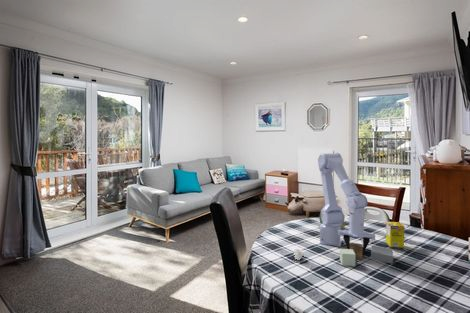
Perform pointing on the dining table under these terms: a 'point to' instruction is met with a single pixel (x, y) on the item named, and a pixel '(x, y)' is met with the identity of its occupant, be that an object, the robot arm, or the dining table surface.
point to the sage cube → (347, 257)
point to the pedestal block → (382, 254)
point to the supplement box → (395, 235)
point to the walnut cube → (357, 250)
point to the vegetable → (331, 211)
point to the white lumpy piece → (298, 254)
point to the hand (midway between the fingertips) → (356, 253)
